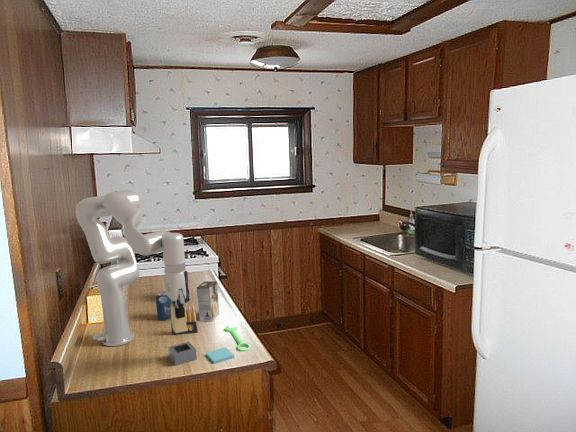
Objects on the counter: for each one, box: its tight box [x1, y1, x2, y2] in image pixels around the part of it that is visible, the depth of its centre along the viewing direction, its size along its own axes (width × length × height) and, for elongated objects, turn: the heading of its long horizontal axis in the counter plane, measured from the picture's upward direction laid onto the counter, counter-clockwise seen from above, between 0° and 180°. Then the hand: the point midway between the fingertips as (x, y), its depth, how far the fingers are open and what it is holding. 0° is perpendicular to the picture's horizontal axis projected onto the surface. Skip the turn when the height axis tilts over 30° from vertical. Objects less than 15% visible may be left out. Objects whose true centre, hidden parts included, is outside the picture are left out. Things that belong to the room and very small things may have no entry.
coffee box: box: [196, 280, 220, 322], centre depth 205 cm, size 9×6×16 cm
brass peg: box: [171, 302, 187, 333], centre depth 165 cm, size 4×4×10 cm
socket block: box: [167, 341, 198, 366], centre depth 167 cm, size 8×8×4 cm
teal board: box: [205, 346, 235, 364], centre depth 167 cm, size 8×8×1 cm
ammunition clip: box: [170, 304, 198, 336], centre depth 189 cm, size 11×2×12 cm, turn 97°
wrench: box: [224, 325, 251, 352], centre depth 183 cm, size 25×2×5 cm
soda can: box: [155, 290, 172, 321], centre depth 207 cm, size 7×7×12 cm
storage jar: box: [179, 270, 190, 304], centre depth 229 cm, size 10×10×15 cm
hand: (178, 315), depth 165 cm, fingers closed on brass peg, 4 cm apart
